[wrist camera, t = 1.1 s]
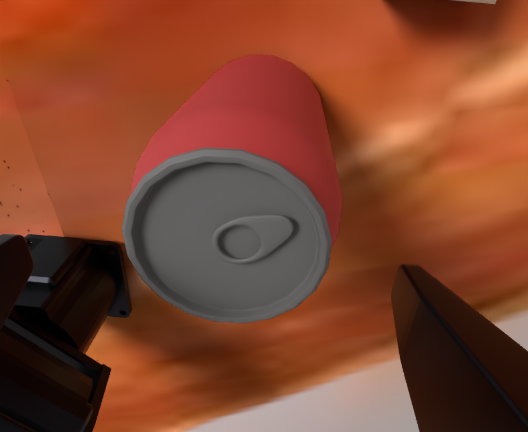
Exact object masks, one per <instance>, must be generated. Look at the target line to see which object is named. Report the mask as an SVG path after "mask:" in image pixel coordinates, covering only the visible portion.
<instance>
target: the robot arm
mask: <svg viewBox="0 0 528 432" xmlns="http://www.w3.org/2000/svg"><path fill="white" fill-rule="evenodd" d="M31 242H32V243H31ZM111 248H112V249H114V250H115V251H113V250H111ZM391 301H392V308H393V314H394V321H395V328H396V335H397V342H398V349H399V355H400V360H401V364H402V368H403V372H404V376H405V380H406V383H407V387H408V391H409V394H410V398H411V401H412V405H413V409H414V412H415V416H416V420H417V424H418V428H419V431H420V432H528V351H527V350H526V349H524V348H523V347H522V346H520V345H519V344H518V343H517V342H515V341H514V340H513V339H512V338H510V337H509V336H508V335H507V334H505V333H504V332H503V331H502V330H500V329H499V328H498V327H496V326H495V325H494V324H493V323H491V322H490V321H489V320H488V319H486V318H485V317H484V316H483V315H481V314H480V313H479V312H477V311H476V310H475V309H474V308H472V307H471V306H470V305H469V304H467V303H466V302H465V301H464V300H462V299H461V298H460V297H459V296H457V295H456V294H455V293H453V292H452V291H451V290H450V289H448V288H447V287H446V286H445V285H443V284H442V283H441V282H440V281H438V280H437V279H436V278H435V277H433V276H432V275H431V274H429V273H428V272H427V271H426V270H424V269H423V268H422V267H420V266H419V265H412V264H401V265H400V266H399V268H398V271H397V274H396V278H395V281H394V285H393V288H392V293H391ZM123 310H124V311H123ZM131 311H132V308H131V302H130V296H129V290H128V284H127V278H126V272H125V266H124V260H123V255H122V249H121V246H120V245H119V244H118V243H116V242H111V241H100V240H89V239H80V238H69V237H58V236H44V235H33V234H28V235H27V236H25V237H23V236H21V235H14V234H3V235H0V432H92V431H93V428H94V426H95V423H96V420H97V416H98V413H99V409H100V406H101V402H102V399H103V396H104V392H105V389H106V385H107V382H108V379H109V375H110V372H111V368H109V367H108V366H106V365H104V364H103V365H101V364H100V363H98V362H97V361H95V360H93V359H92V358H90V357H89V356H87V355H86V354H85V353H86V352H87V350H88V348H89V346H90V345H91V343H92V341H93V339H94V338H95V336H96V334H97V333H98V331H99V329H100V327H101V326H102V324H103V322H104V321H105V319H106V317H107V316H113V317H123V318H126V317H128V316H129V315H130V313H131Z"/></svg>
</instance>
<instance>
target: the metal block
mask: <svg viewBox="0 0 528 432" xmlns="http://www.w3.org/2000/svg"><path fill="white" fill-rule="evenodd" d="M451 1H461V2H473V3H486V4H495V3H496V0H451Z"/></svg>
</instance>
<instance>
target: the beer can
mask: <svg viewBox="0 0 528 432" xmlns="http://www.w3.org/2000/svg"><path fill="white" fill-rule="evenodd" d="M342 203H343V196H342V192H341V187H340V183H339V179H338V174H337V170H336V165H335V161H334V156H333V152H332V147H331V143H330V138H329V134H328V130H327V125H326V121H325V116H324V112H323V107H322V103H321V99H320V95H319V93H318V91H317V90H316V88H315V86H314V85H313V83H312V81H311V80H310V78H309V77H308V76H307V75H306V74H305V73H303V72H302V71H301V70H300V69H299V68H297V67H296V66H295V65H294V64H293V63H291V62H288V61H285V60H283V59H280V58H278V57H275V56H272V55H248V56H245V57H242V58H239V59H235V60H232V61H230V62H228V63H227V64H226V65H225V66H223V67H222V68H221V69H219V70H218V71H217V72H215V73H214V74H213V75H212V76H211V77H210V78H209V79H208V80H207V81H206V82H205V83H204V84H203V85H202V86H201V87H200V88H199V89H198V90H197V91H196V92H195V93H194V94H193V95H192V96H191V97H190V98H189V99H188V100H187V101H186V102H185V103H184V104H183V105H182V106H181V107H180V108H179V109H178V110H177V111H176V112H175V113H174V114H173V115H172V116H171V117H170V118H169V119H168V120H167V121H166V122H165V123H164V124H163V125H162V126H161V128H160V129H159V130H158V131H157V132H156V133H155V134H154V135H153V137H152V138H151V140H150V142H149V143H148V145H147V147H146V148H145V150H144V151H143V153H142V155H141V156H140V158H139V159H138V162H137V165H136V168H135V172H134V177H133V183H132V188H131V194H130V197H129V199H128V201H127V202H126V208H125V214H124V220H123V226H122V232H123V237H124V241H125V246H126V251H127V256H128V257H129V259H130V261H131V262H132V264H133V266H134V267H135V269H136V271H137V273H138V274H139V276H140V278H141V279H142V280H143V281H144V282H145V283H146V284H147V285H148V286H149V287H150V288H151V289H152V290H153V291H154V292H155V293H156V294H157V295H158V296H160V297H161V298H162V299H163V300H165V301H167V302H168V303H170V304H172V305H174V306H175V307H177V308H179V309H181V310H182V311H184V312H186V313H188V314H191V315H195V316H198V317H201V318H205V319H208V320H211V321H215V322H230V323H248V322H254V321H260V320H266V319H271V318H274V317H276V316H278V315H280V314H282V313H285V312H287V311H289V310H291V309H294V308H296V307H297V306H298V305H299V304H300V303H302V302H303V301H304V300H305V299H306V298H307V297H308V296H310V295H311V294H312V293H313V292H314V291H315V290H316V289H317V287H318V285H319V283H320V281H321V280H322V278H323V276H324V274H325V273H326V271H327V269H328V266H329V259H330V251H331V248H332V246H333V245H334V243H335V241H336V239H337V234H338V230H339V224H340V217H341V210H342Z"/></svg>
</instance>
